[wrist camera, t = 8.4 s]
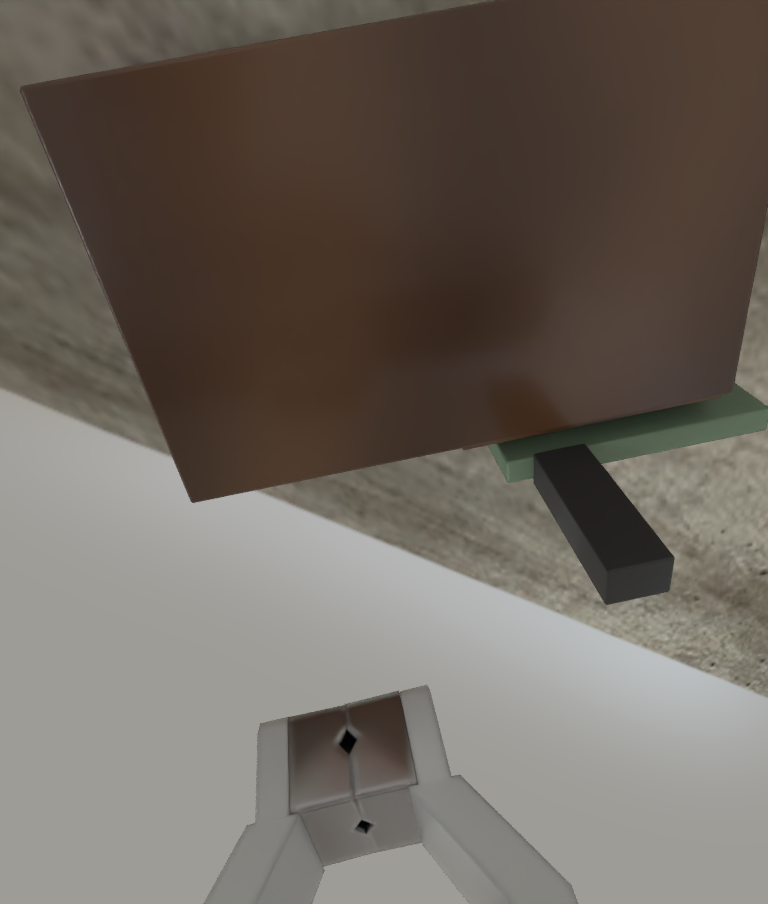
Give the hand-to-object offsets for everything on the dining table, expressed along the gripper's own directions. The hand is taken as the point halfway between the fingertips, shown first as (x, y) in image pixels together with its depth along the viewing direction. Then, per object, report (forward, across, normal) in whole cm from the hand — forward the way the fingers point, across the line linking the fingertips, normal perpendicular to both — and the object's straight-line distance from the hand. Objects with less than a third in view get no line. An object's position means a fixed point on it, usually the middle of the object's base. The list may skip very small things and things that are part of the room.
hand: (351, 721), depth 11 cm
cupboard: (+17, -4, -6) cm, 18 cm away
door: (+17, -9, 0) cm, 19 cm away
